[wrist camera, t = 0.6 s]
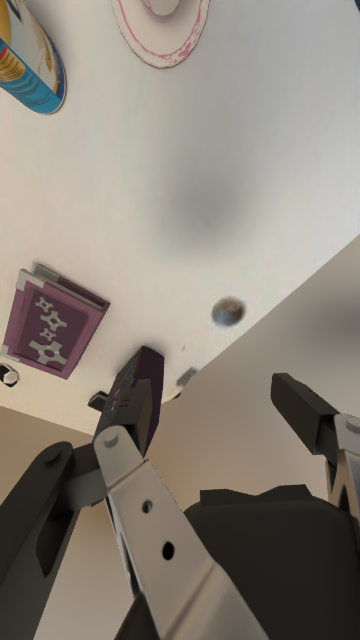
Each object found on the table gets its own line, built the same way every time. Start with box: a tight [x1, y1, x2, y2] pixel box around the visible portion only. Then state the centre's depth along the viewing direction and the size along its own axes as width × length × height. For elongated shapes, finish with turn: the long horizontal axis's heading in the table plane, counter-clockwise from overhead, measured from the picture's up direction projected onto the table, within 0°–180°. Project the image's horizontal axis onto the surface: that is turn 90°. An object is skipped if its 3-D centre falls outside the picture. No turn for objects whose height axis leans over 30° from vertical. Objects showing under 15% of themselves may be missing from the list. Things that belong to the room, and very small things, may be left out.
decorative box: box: [87, 346, 164, 507], centre depth 40 cm, size 8×16×28 cm, turn 141°
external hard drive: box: [87, 392, 108, 412], centre depth 59 cm, size 7×11×2 cm, turn 46°
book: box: [0, 265, 110, 380], centre depth 42 cm, size 25×16×5 cm, turn 145°
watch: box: [0, 365, 18, 387], centre depth 51 cm, size 8×5×4 cm, turn 1°
